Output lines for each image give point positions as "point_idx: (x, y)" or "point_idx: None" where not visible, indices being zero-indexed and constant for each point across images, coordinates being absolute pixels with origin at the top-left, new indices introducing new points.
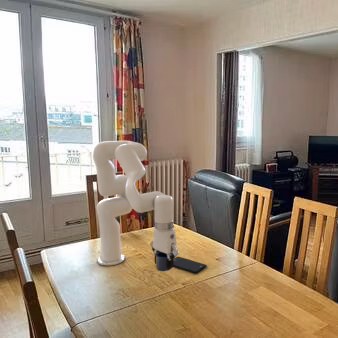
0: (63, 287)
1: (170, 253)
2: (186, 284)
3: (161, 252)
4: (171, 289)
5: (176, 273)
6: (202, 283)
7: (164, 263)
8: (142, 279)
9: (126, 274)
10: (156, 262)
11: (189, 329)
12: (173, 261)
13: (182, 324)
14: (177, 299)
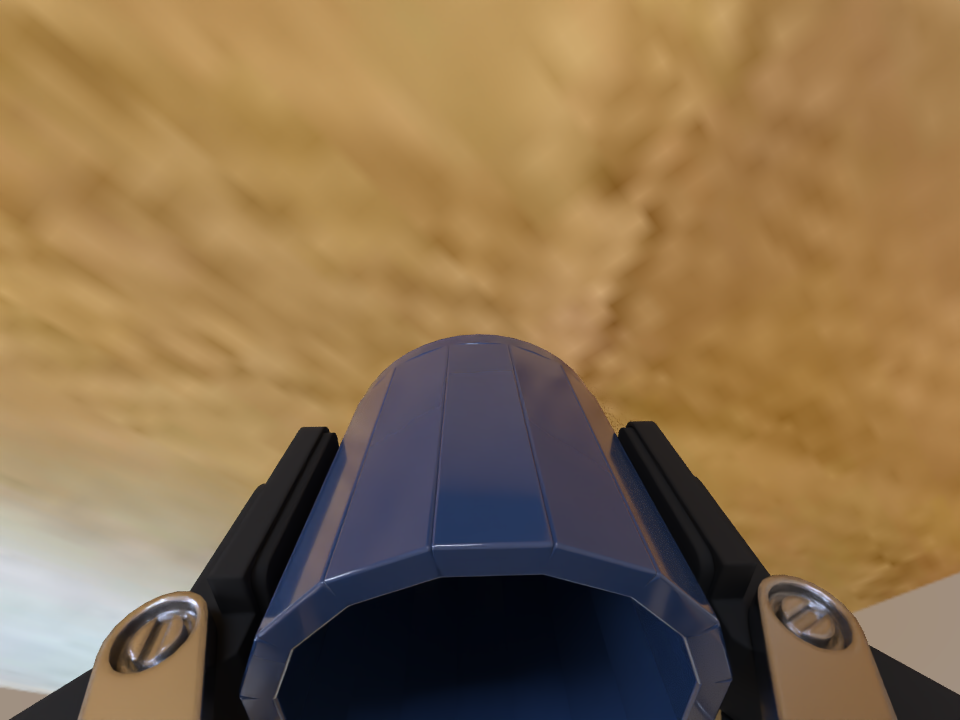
0: (15, 674)
1: (600, 578)
2: (649, 172)
3: (295, 655)
4: (574, 337)
5: (362, 15)
6: (821, 16)
7: (597, 624)
8: (222, 368)
9: (30, 392)
10: (424, 633)
11: (928, 563)
12: (701, 488)
13: (872, 557)
14: (712, 411)
